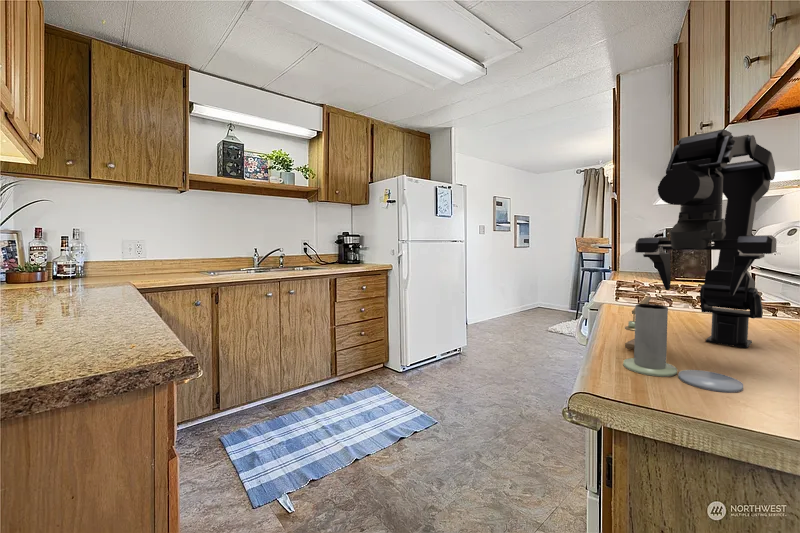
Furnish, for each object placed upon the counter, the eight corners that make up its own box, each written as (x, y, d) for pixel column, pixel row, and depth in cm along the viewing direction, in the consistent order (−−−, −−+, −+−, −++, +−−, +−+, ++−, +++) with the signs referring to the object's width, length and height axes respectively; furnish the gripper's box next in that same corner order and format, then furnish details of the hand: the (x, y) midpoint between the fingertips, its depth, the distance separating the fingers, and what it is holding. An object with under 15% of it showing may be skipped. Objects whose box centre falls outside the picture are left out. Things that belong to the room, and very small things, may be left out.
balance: (639, 340, 79) (641, 294, 78) (659, 343, 76) (661, 296, 76) (620, 350, 72) (621, 300, 72) (640, 354, 69) (642, 302, 69)
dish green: (632, 358, 67) (632, 355, 67) (682, 369, 61) (683, 365, 61) (616, 367, 62) (616, 364, 62) (668, 380, 57) (669, 376, 56)
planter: (657, 361, 64) (659, 303, 63) (671, 370, 59) (673, 308, 58) (629, 360, 65) (630, 303, 64) (641, 368, 60) (642, 308, 59)
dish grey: (685, 370, 61) (685, 366, 61) (747, 383, 55) (747, 379, 55) (672, 381, 56) (672, 377, 56) (737, 397, 50) (738, 393, 50)
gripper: (624, 209, 66) (623, 292, 68) (768, 198, 51) (763, 305, 53) (646, 210, 73) (645, 286, 74) (779, 201, 58) (774, 295, 60)
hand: (698, 292), depth 65 cm, fingers open, 9 cm apart
